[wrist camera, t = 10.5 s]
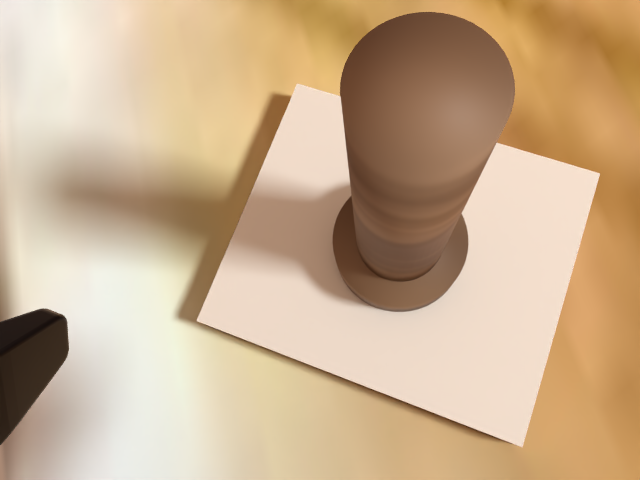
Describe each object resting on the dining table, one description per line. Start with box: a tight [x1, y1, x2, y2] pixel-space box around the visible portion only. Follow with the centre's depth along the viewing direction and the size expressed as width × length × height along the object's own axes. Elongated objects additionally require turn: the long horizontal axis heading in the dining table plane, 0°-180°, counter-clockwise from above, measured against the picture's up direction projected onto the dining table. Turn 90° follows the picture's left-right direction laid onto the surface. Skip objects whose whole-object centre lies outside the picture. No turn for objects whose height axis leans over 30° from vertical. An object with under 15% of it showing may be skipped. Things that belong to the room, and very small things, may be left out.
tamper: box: [332, 12, 515, 312], centre depth 17 cm, size 5×5×12 cm
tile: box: [197, 84, 600, 447], centre depth 23 cm, size 11×13×1 cm
